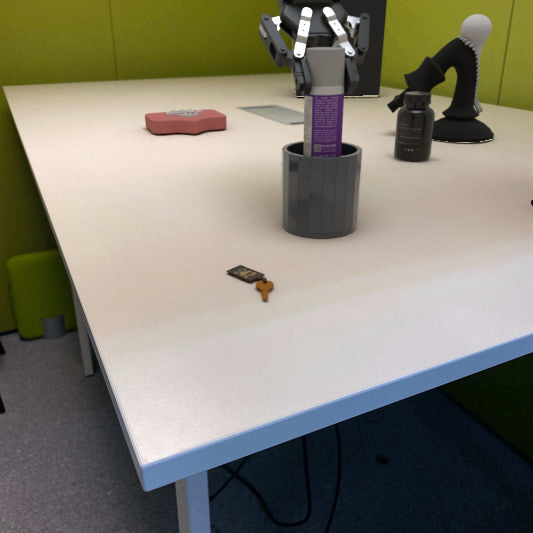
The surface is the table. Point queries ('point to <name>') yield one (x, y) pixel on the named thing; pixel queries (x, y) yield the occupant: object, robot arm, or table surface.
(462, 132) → the sculpture
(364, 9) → the binder
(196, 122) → the red sponge
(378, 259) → the table surface
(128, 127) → the table surface
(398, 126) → the supplement bottle
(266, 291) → the key tag
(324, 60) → the container
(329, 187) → the grey cylindrical cup
